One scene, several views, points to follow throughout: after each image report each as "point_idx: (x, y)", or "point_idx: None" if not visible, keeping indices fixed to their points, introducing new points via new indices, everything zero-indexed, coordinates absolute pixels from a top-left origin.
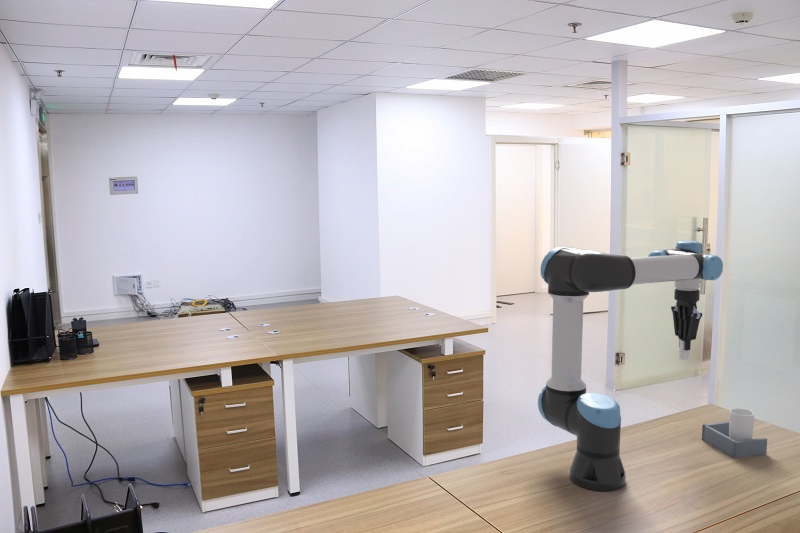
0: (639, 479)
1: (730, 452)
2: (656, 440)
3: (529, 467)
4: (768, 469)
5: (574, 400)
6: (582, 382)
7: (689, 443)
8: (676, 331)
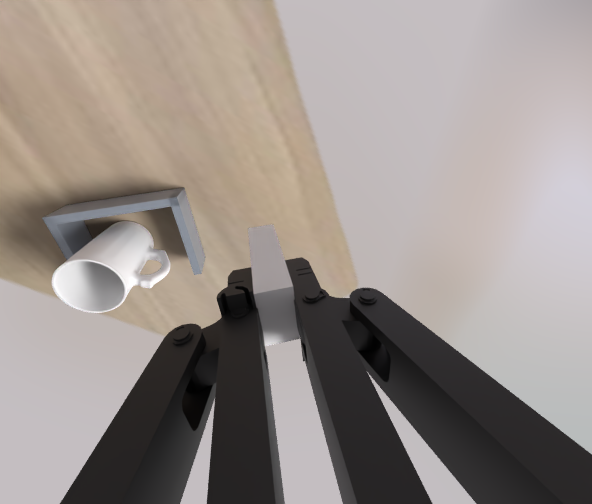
0: None
1: (78, 204)
2: (177, 60)
3: None
4: (13, 243)
5: None
6: None
7: (158, 145)
8: (374, 315)
